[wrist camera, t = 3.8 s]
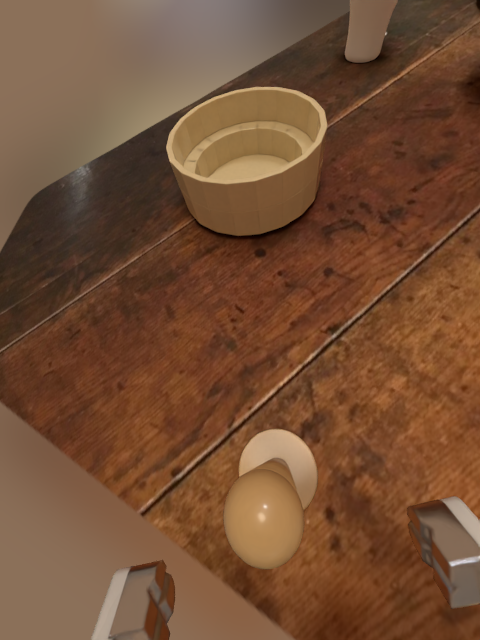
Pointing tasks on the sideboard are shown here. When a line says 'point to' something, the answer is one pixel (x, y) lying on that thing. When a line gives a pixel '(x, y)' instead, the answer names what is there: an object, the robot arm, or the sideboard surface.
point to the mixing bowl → (249, 158)
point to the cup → (367, 28)
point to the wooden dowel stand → (270, 498)
